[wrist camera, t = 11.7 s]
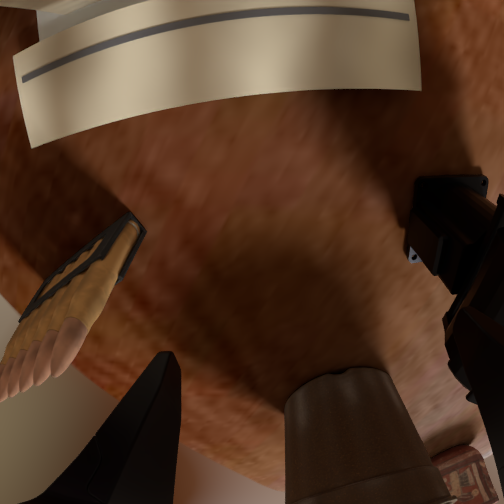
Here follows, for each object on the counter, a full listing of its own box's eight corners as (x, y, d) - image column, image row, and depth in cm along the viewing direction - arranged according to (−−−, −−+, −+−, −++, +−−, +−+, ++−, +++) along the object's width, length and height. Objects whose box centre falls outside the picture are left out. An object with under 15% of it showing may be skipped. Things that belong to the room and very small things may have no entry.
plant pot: (437, 362, 30) (489, 486, 16) (355, 434, 37) (377, 538, 24) (315, 336, 26) (354, 527, 12) (243, 423, 34) (247, 553, 20)
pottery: (491, 430, 48) (514, 492, 33) (448, 464, 57) (464, 519, 42) (438, 445, 46) (461, 520, 31) (395, 478, 55) (409, 541, 40)
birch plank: (396, -5, 13) (413, -11, 11) (405, 87, 16) (422, 91, 14) (31, 54, 13) (11, 56, 12) (48, 139, 16) (30, 148, 15)
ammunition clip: (130, 210, 19) (45, 356, 9) (148, 231, 20) (83, 386, 10) (44, 280, 22) (-25, 397, 12) (59, 296, 23) (-2, 416, 13)
